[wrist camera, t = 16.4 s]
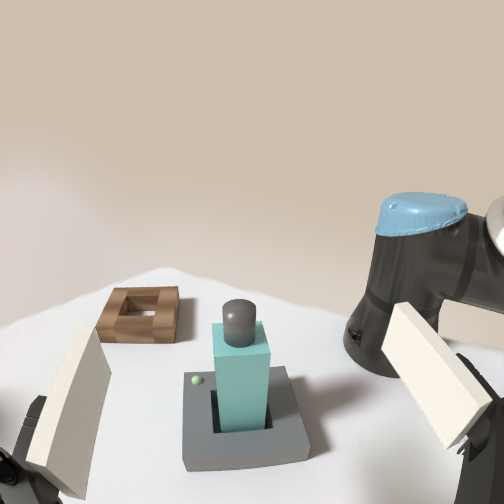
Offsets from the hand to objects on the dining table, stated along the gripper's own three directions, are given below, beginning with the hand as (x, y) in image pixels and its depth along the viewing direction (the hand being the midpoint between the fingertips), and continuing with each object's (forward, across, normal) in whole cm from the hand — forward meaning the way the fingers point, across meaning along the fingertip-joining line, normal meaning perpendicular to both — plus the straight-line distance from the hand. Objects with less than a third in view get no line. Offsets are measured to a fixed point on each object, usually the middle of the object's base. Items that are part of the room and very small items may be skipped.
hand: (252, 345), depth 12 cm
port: (+10, 0, -21) cm, 23 cm away
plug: (+10, 0, -21) cm, 23 cm away
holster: (+31, -14, -21) cm, 40 cm away
